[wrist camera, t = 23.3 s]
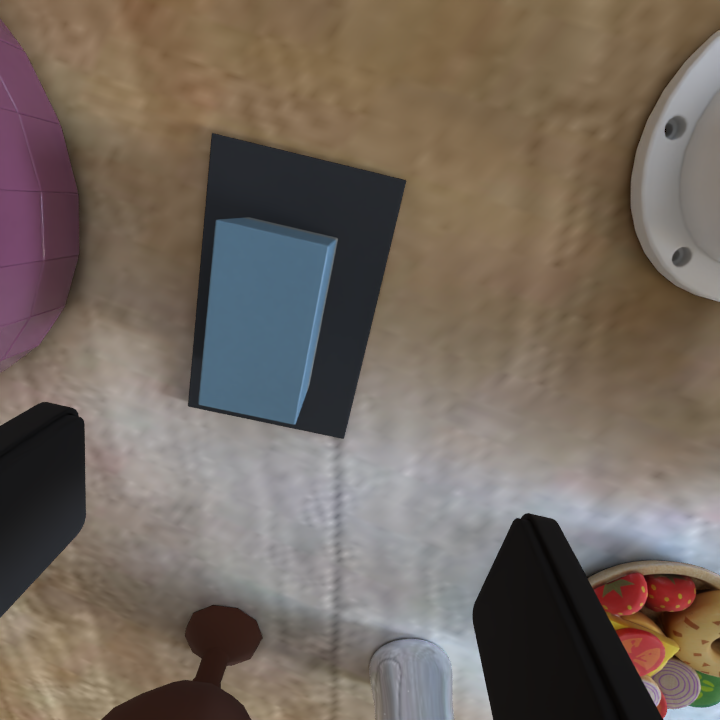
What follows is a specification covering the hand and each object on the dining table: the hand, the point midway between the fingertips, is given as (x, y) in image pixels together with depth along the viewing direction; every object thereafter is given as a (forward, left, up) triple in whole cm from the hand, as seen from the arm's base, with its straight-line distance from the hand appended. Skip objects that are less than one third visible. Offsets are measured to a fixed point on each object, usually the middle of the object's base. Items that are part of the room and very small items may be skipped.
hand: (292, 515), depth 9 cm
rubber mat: (+1, -3, -14) cm, 14 cm away
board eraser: (+1, -3, -14) cm, 14 cm away
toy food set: (+2, +29, -14) cm, 32 cm away
